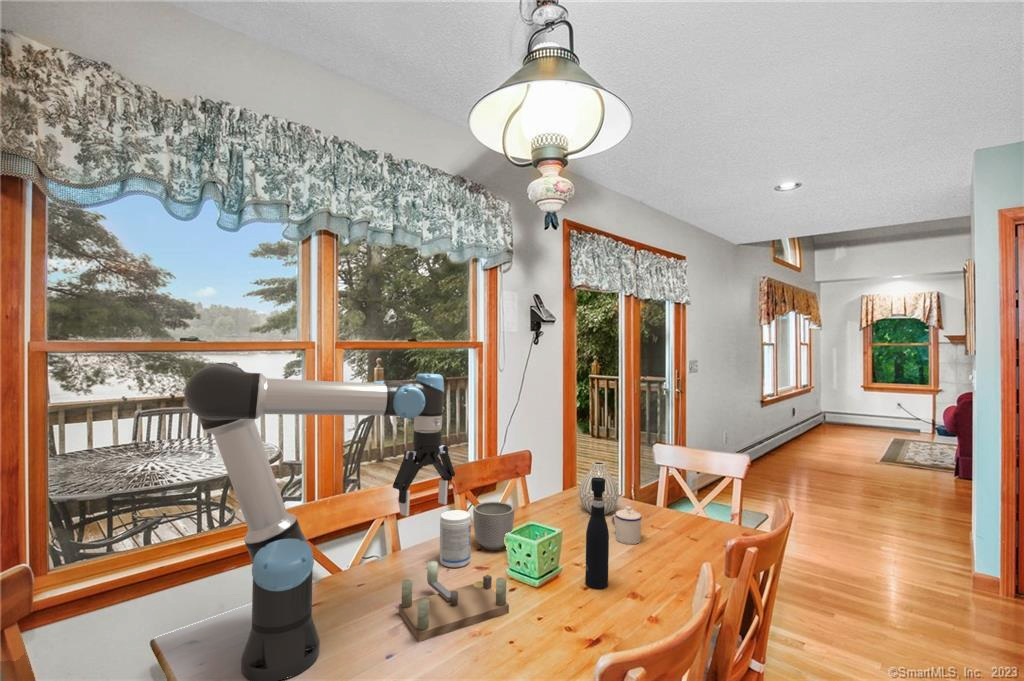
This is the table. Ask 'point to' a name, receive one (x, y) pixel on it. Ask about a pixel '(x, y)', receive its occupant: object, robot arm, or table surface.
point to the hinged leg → (432, 580)
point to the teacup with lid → (627, 526)
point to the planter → (492, 523)
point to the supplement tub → (455, 538)
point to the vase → (609, 494)
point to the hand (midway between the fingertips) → (424, 509)
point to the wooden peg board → (452, 607)
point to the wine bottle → (597, 540)
